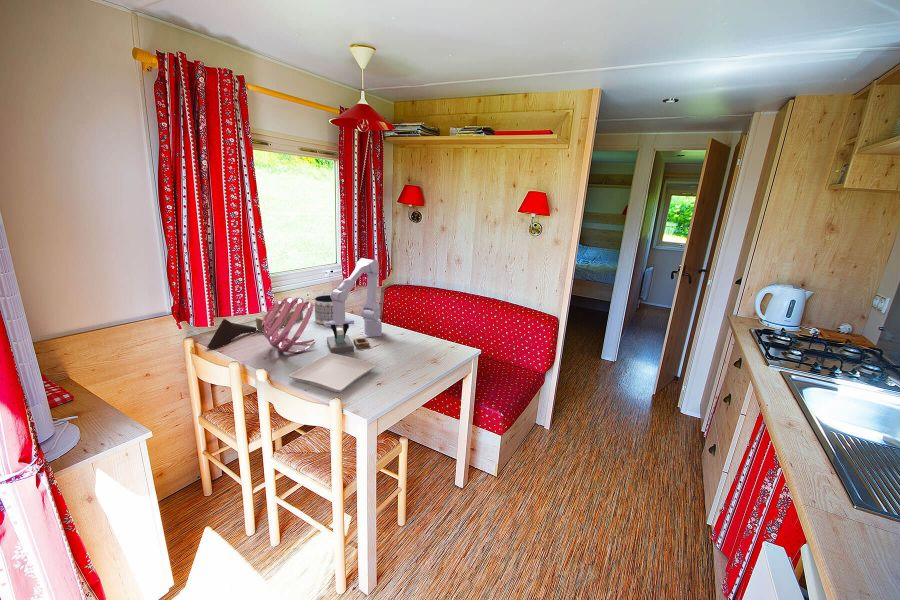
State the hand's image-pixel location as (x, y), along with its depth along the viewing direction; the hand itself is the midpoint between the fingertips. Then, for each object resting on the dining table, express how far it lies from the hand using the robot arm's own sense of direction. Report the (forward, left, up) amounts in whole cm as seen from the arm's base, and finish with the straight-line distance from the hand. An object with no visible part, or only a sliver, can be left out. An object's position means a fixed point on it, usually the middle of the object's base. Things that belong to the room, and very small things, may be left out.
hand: (339, 338), depth 197 cm
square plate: (+7, +31, -6) cm, 32 cm away
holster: (+50, -26, -6) cm, 57 cm away
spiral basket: (+23, -6, -6) cm, 25 cm away
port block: (0, 0, -5) cm, 5 cm away
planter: (-1, -45, -6) cm, 45 cm away
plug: (0, 0, -3) cm, 3 cm away
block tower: (+26, -45, -6) cm, 53 cm away
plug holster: (-11, 0, -5) cm, 12 cm away
